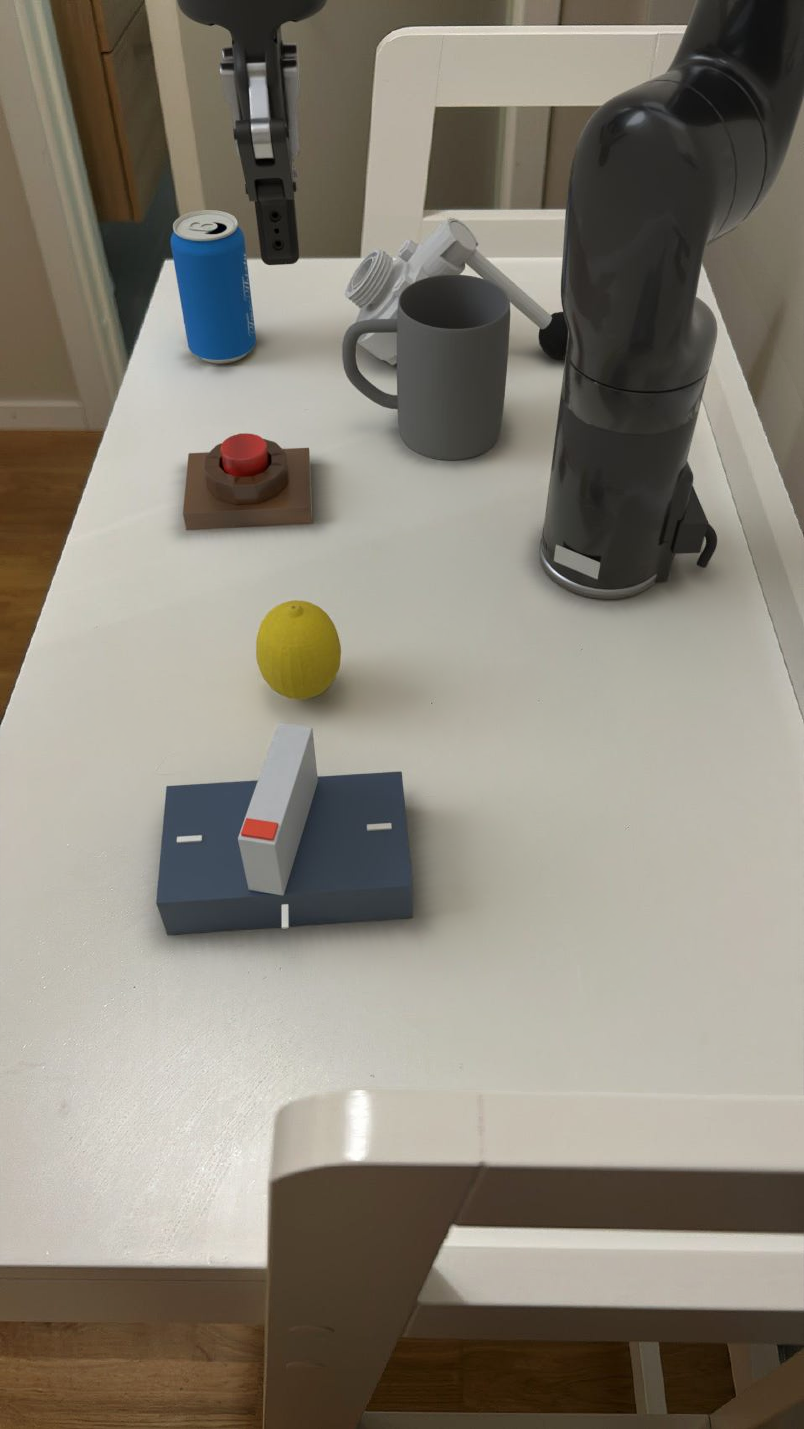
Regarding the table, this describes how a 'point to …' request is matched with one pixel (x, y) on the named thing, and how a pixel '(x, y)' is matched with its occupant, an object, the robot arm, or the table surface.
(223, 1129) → the table surface
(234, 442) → the button
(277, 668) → the lemon
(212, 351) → the beverage can
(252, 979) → the table surface
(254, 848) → the white slab
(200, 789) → the blue dial base
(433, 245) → the valve
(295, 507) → the button block
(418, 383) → the mug
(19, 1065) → the table surface
